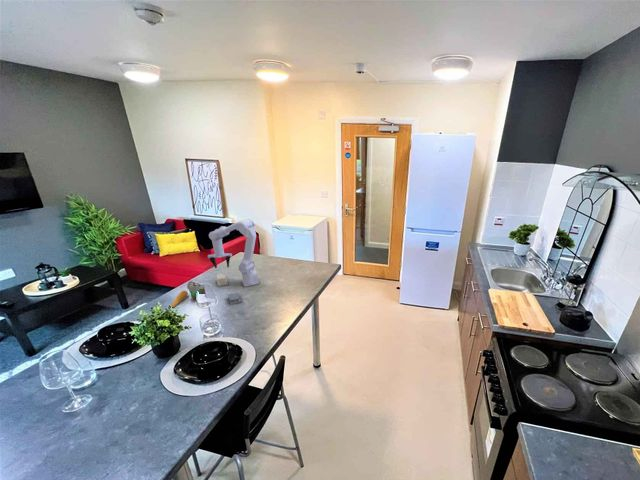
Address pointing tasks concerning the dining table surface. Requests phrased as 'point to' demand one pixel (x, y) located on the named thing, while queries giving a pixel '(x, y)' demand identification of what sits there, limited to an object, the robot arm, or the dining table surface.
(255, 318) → the dining table surface
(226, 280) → the cream stack
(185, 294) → the carrot
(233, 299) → the grey stack
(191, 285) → the food container
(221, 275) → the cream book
